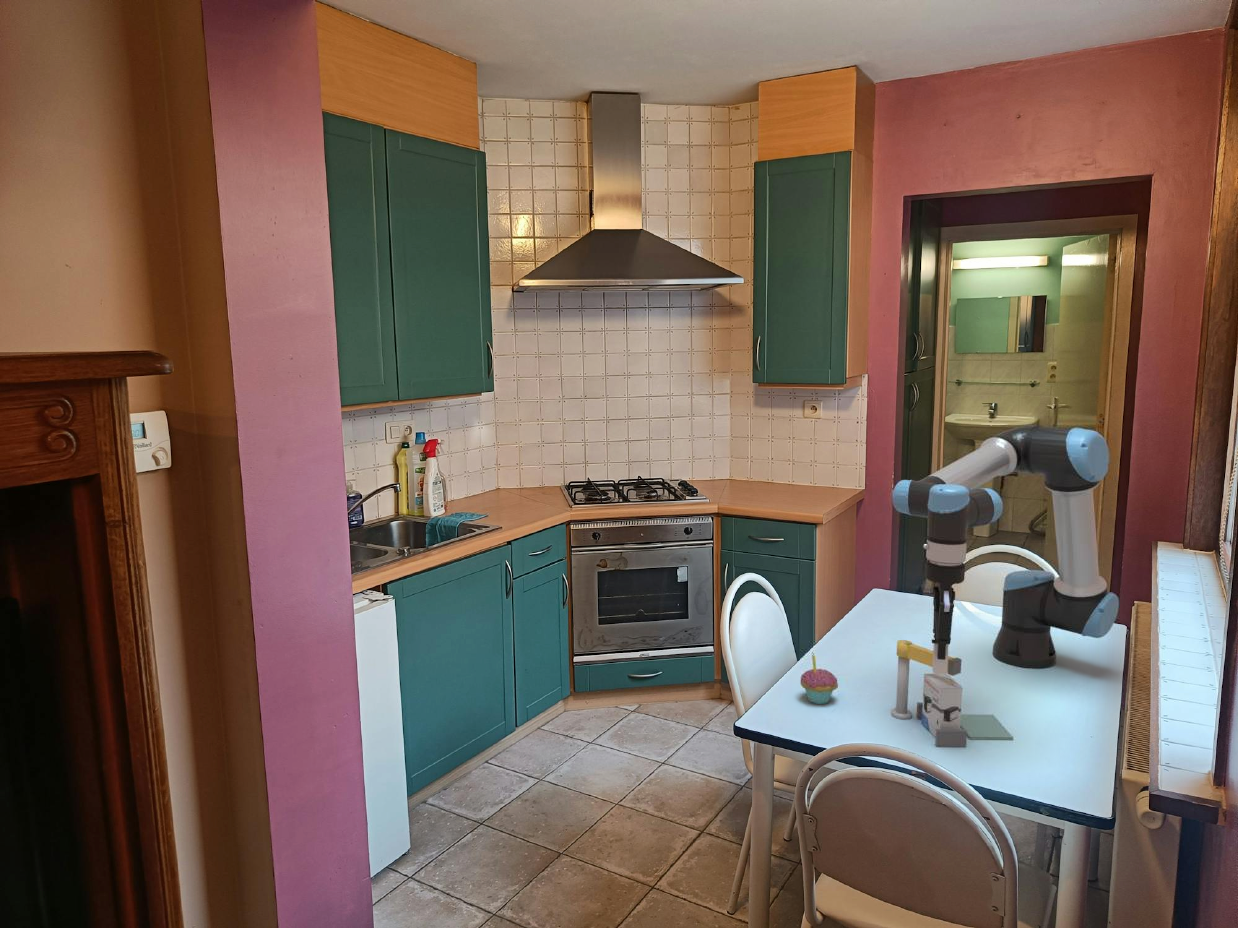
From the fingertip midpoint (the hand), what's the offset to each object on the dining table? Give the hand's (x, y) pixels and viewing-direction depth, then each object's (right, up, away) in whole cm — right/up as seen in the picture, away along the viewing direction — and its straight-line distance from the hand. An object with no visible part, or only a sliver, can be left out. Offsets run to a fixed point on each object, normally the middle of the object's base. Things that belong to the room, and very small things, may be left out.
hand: (939, 671), depth 179 cm
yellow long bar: (0, 0, +8) cm, 8 cm away
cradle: (0, -14, +9) cm, 17 cm away
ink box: (+3, -15, +7) cm, 17 cm away
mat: (+12, -14, +9) cm, 21 cm away
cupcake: (-20, -12, +24) cm, 33 cm away
